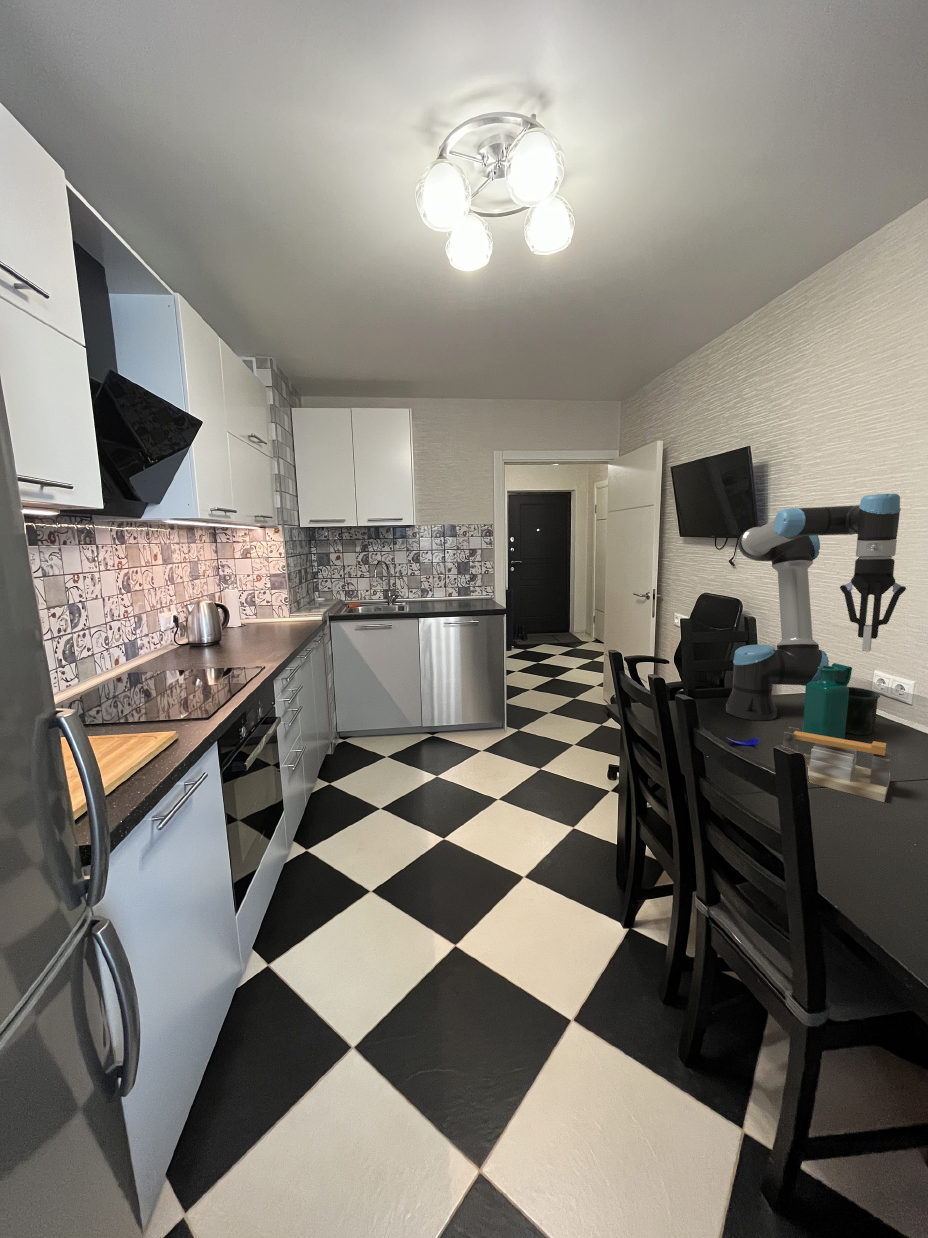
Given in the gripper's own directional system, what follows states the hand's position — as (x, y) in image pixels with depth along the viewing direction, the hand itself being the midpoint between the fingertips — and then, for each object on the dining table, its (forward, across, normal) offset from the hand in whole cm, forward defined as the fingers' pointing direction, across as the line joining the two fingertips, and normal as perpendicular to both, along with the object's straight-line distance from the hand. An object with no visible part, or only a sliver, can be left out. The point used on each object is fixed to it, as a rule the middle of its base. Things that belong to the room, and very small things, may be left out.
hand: (866, 650), depth 124 cm
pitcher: (+31, -9, +14) cm, 35 cm away
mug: (+31, -4, +28) cm, 42 cm away
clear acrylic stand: (+30, -3, -14) cm, 34 cm away
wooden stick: (+22, -3, -14) cm, 26 cm away
